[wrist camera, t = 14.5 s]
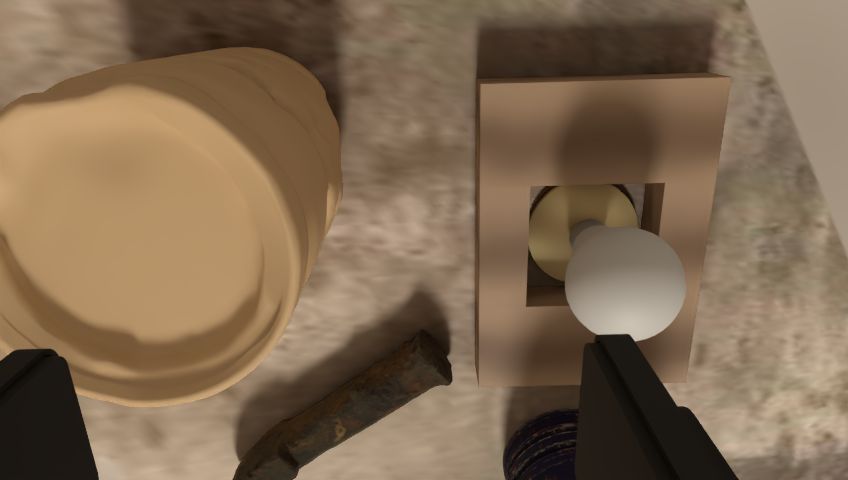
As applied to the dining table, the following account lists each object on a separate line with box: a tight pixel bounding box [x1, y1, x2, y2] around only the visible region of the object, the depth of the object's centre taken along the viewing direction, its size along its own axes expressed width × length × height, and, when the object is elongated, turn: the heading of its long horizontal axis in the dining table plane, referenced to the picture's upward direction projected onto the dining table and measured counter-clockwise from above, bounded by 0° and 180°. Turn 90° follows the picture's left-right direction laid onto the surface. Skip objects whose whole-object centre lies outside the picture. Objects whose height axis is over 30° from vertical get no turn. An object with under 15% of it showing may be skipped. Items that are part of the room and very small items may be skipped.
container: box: [0, 47, 343, 407], centre depth 29 cm, size 13×13×18 cm
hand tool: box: [233, 330, 452, 480], centre depth 42 cm, size 19×4×5 cm, turn 123°
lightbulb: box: [565, 219, 686, 341], centre depth 34 cm, size 6×6×11 cm
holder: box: [475, 72, 731, 387], centre depth 38 cm, size 20×14×3 cm
